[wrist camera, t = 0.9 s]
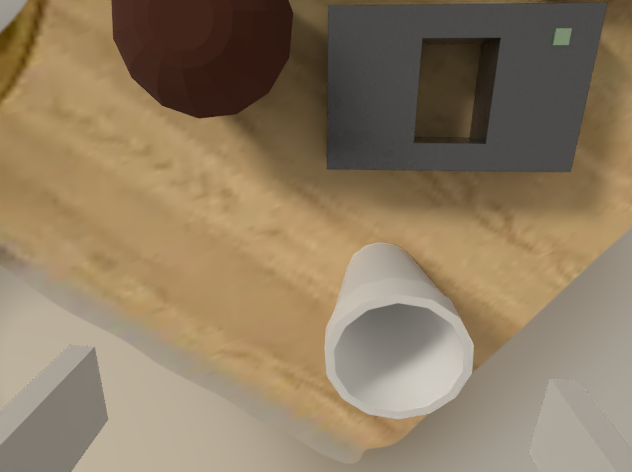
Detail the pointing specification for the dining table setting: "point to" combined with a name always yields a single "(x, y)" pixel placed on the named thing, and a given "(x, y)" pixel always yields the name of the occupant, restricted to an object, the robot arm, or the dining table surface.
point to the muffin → (204, 50)
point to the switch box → (491, 90)
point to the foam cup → (395, 337)
